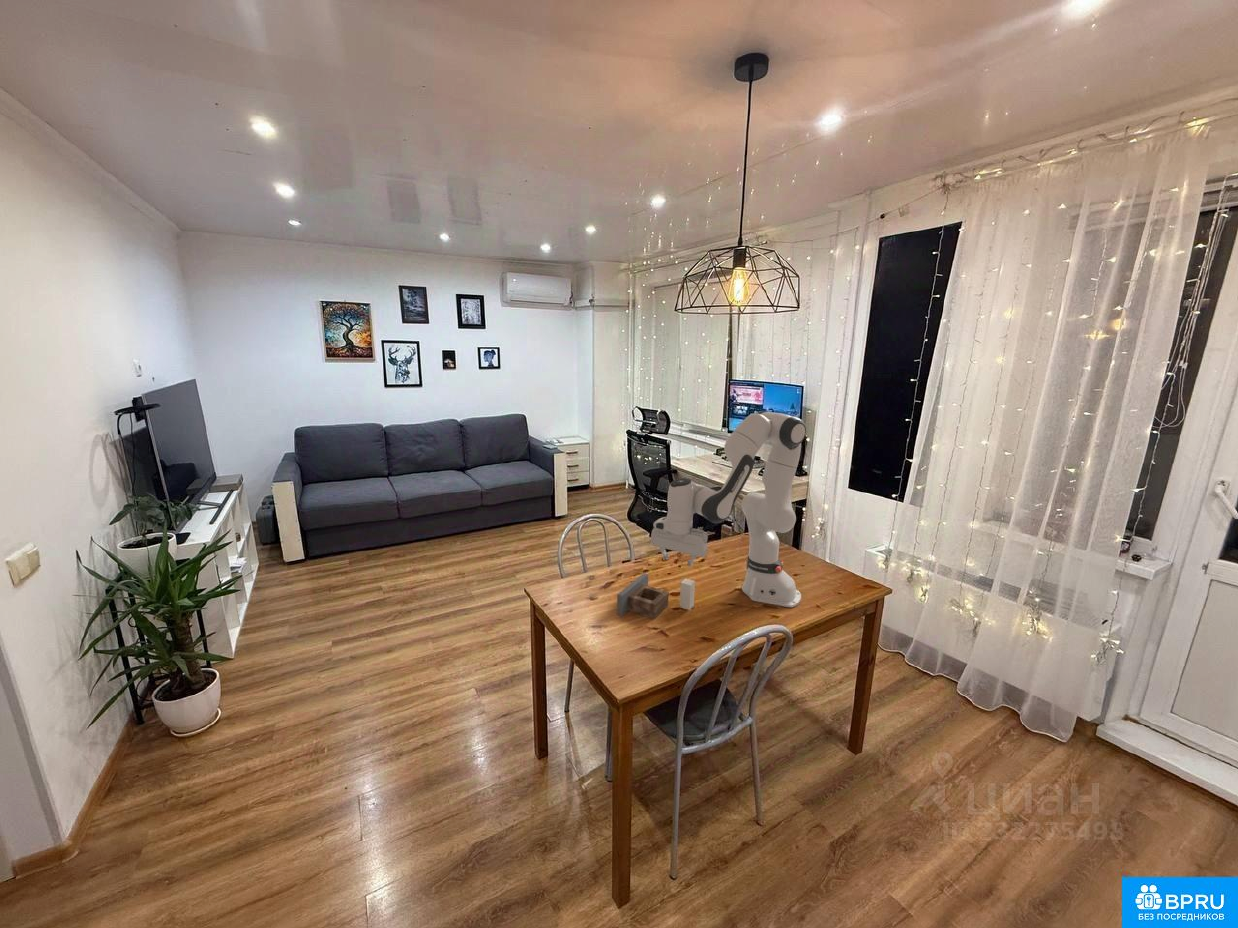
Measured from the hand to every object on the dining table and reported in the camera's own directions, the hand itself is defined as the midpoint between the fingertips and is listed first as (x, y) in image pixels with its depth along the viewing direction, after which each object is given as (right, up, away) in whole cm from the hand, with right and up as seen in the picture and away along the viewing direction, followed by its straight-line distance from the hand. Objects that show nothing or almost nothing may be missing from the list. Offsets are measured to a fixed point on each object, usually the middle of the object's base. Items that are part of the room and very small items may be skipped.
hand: (677, 562), depth 173 cm
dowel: (+5, -19, +11) cm, 22 cm away
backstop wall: (-15, -18, +13) cm, 27 cm away
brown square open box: (-10, -19, +10) cm, 24 cm away
